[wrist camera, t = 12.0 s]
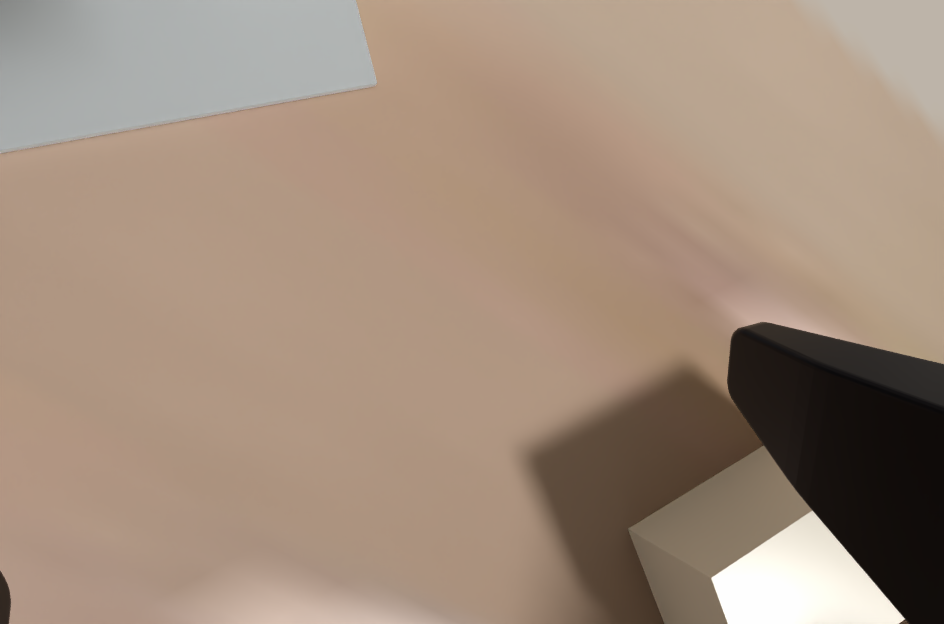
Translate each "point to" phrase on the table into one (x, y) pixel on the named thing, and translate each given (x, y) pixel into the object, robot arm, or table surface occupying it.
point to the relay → (752, 556)
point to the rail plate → (166, 62)
